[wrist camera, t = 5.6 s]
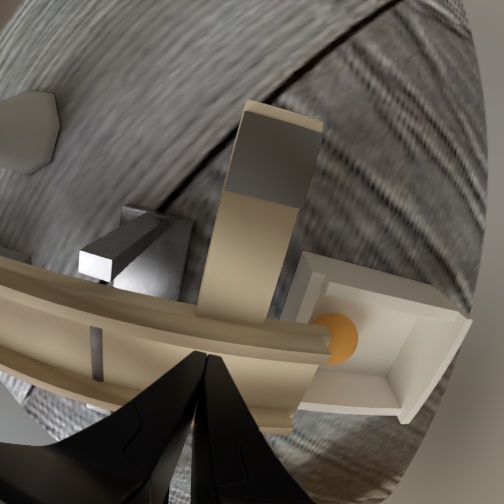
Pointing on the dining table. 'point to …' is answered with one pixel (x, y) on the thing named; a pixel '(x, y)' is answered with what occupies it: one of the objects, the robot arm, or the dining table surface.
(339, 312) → the white open box
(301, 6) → the dining table surface
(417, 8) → the dining table surface
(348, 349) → the ball
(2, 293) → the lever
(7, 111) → the flask
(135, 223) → the stand
